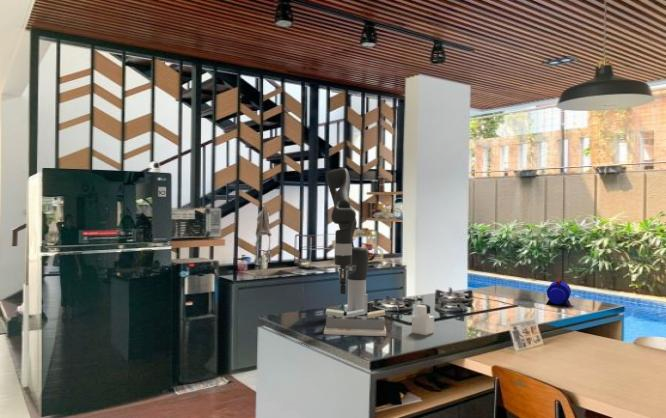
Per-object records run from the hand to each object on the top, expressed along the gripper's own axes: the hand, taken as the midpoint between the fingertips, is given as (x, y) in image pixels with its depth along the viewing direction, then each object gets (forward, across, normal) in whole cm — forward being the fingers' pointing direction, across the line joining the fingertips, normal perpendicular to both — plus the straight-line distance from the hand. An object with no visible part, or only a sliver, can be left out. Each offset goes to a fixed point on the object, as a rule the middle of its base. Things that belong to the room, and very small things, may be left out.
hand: (343, 293), depth 223 cm
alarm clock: (+18, -79, +121) cm, 146 cm away
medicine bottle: (+16, +1, +34) cm, 38 cm away
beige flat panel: (+10, 0, +15) cm, 18 cm away
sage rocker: (+10, 0, -4) cm, 11 cm away
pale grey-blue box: (+10, 0, +6) cm, 12 cm away
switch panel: (+16, +2, +5) cm, 17 cm away
